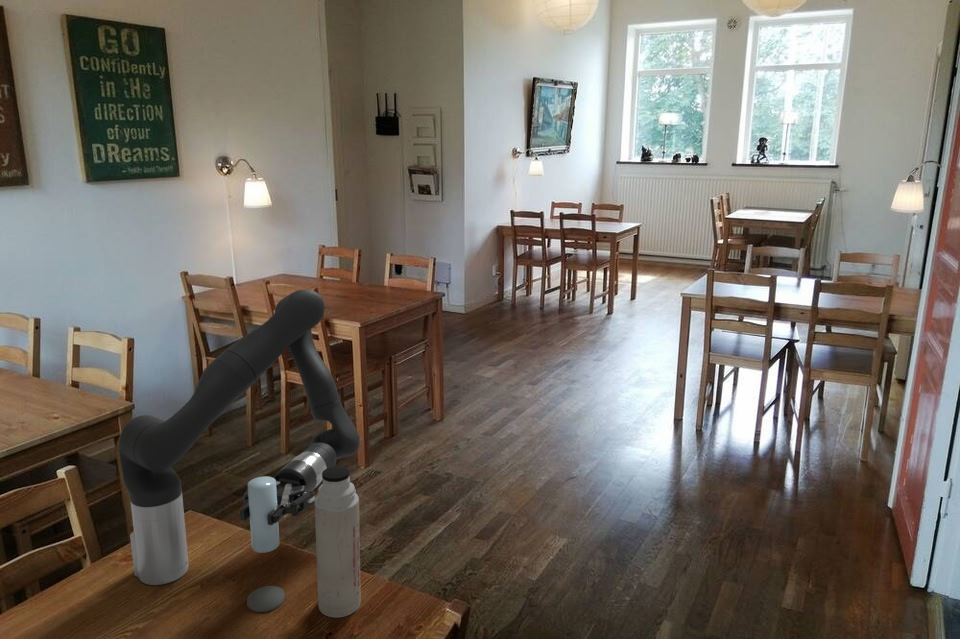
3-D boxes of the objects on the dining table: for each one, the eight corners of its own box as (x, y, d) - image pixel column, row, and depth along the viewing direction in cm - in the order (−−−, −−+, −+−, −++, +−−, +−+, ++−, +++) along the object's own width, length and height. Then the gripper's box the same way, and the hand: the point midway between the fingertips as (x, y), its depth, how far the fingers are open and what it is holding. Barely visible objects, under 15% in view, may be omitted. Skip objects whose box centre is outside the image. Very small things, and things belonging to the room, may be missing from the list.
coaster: (239, 608, 128) (239, 605, 128) (259, 585, 135) (259, 583, 135) (272, 615, 127) (272, 612, 126) (291, 592, 133) (291, 589, 133)
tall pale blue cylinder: (246, 550, 127) (242, 487, 123) (261, 535, 131) (257, 474, 128) (270, 554, 126) (266, 491, 122) (284, 539, 130) (281, 478, 127)
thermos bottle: (366, 594, 133) (364, 464, 126) (351, 620, 126) (348, 484, 119) (328, 587, 135) (324, 459, 128) (311, 614, 127) (306, 478, 120)
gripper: (269, 454, 141) (219, 494, 125) (332, 464, 137) (290, 506, 121) (271, 487, 143) (222, 530, 127) (333, 497, 139) (291, 542, 123)
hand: (255, 518), depth 124 cm, fingers closed on tall pale blue cylinder, 5 cm apart
